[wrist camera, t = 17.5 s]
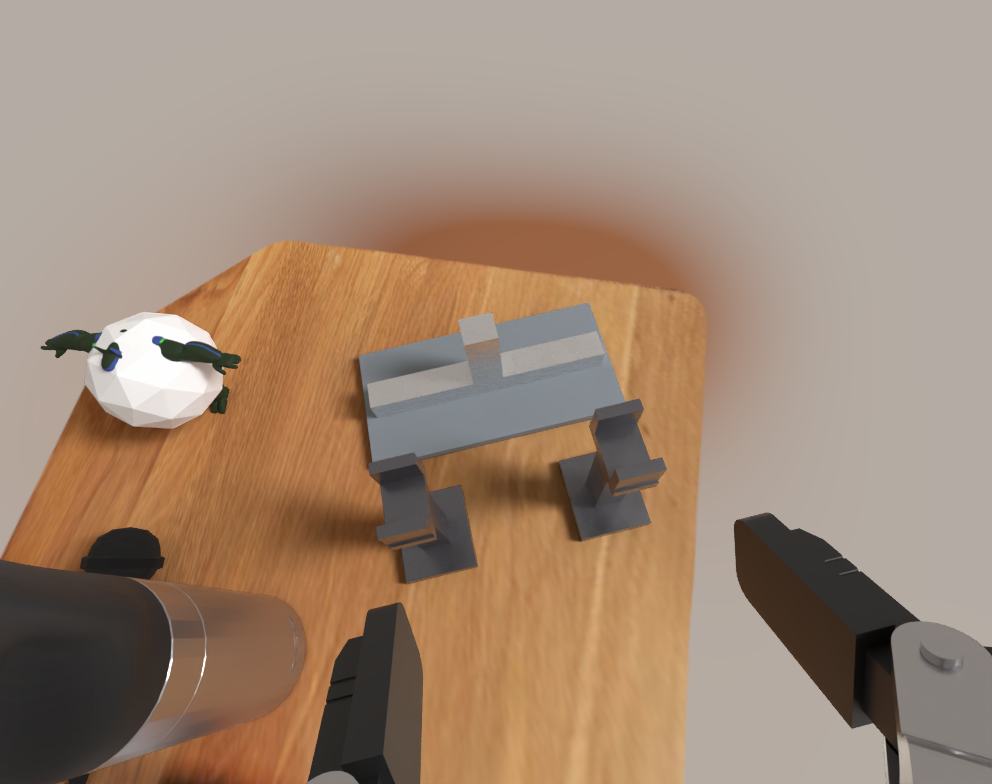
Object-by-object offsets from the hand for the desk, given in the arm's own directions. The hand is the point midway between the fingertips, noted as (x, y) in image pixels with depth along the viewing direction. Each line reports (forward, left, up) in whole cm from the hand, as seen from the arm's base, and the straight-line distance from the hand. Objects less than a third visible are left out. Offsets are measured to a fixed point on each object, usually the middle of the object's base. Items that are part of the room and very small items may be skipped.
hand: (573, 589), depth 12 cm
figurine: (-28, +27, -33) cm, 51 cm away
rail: (0, +22, -32) cm, 38 cm away
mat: (0, +22, -33) cm, 39 cm away
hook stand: (0, +9, -33) cm, 34 cm away
